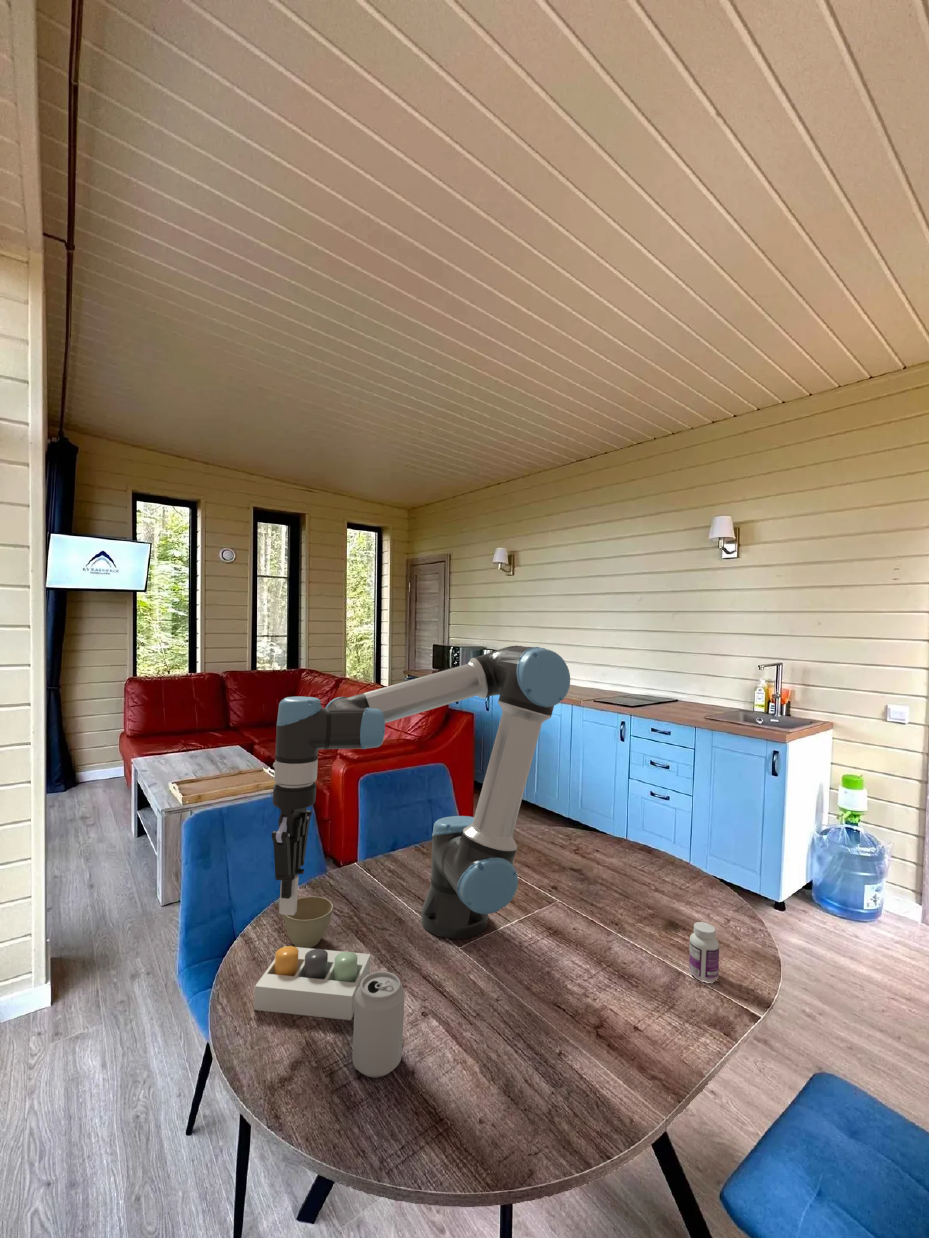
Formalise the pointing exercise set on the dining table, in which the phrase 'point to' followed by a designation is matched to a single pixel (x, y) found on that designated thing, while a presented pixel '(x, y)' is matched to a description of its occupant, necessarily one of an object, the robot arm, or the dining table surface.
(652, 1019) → the dining table surface
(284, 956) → the orange rounded piece
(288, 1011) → the white compartment box
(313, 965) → the black button
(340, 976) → the green button
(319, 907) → the flower pot
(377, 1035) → the can
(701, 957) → the pill bottle
